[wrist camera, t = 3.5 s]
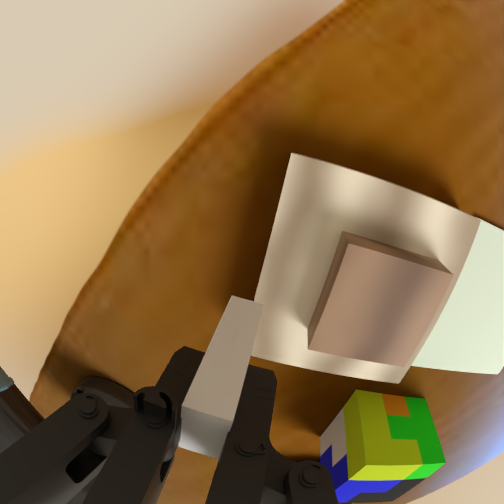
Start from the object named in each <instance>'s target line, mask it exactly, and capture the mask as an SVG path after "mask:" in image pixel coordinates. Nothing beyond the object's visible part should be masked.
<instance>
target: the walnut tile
mask: <svg viewBox="0 0 504 504" xmlns="http://www.w3.org/2000/svg"><path fill="white" fill-rule="evenodd" d="M453 276H454V275H453V274H452V273H451V272H450V271H449V270H448V269H447V268H446V267H445V266H444V265H443V264H442V263H441V262H440V261H438V260H435V259H432V258H429V257H426V256H423V255H420V254H417V253H414V252H410V251H407V250H404V249H401V248H398V247H395V246H391V245H388V244H385V243H381V242H378V241H375V240H372V239H368V238H365V237H361V236H358V235H355V234H351V233H348V232H344V231H342V234H341V237H340V240H339V243H338V246H337V249H336V252H335V255H334V258H333V261H332V264H331V267H330V270H329V273H328V275H327V278H326V281H325V284H324V287H323V289H322V292H321V295H320V297H319V300H318V303H317V305H316V308H315V311H314V313H313V316H312V318H311V321H310V324H309V326H308V329H307V337H308V350H313V351H317V352H322V353H327V354H332V355H337V356H342V357H347V358H353V359H358V360H364V361H369V362H375V363H381V364H388V365H394V366H401V367H405V365H406V363H407V362H408V360H409V359H410V357H411V355H412V354H413V352H414V351H415V349H416V347H417V346H418V344H419V342H420V340H421V339H422V337H423V335H424V333H425V332H426V330H427V328H428V326H429V324H430V323H431V321H432V319H433V317H434V315H435V313H436V311H437V309H438V307H439V305H440V303H441V301H442V299H443V297H444V295H445V293H446V291H447V289H448V287H449V285H450V282H451V280H452V278H453Z"/></svg>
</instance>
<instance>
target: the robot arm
mask: <svg viewBox="0 0 504 504" xmlns="http://www.w3.org/2000/svg"><path fill="white" fill-rule="evenodd" d="M263 305H264V304H261V303H258V302H254V301H250V300H247V299H243V298H240V297H236V296H231V298H230V300H229V302H228V304H227V307H226V309H225V311H224V313H223V315H222V318H221V320H220V322H219V324H218V326H217V329H216V331H215V333H214V335H213V338H212V340H211V342H210V344H209V346H208V349H207V351H206V353H204V352H201V351H198V350H195V349H192V348H188V347H185V346H184V347H182V348H181V349H179V350H178V351H176V352H175V353H174V354H173V356H172V358H171V360H170V361H169V364H168V365H167V367H166V368H165V371H164V372H163V373H162V375H161V377H160V379H159V380H158V382H157V384H156V386H151V387H144V388H142V389H139V390H137V391H136V392H135V393H134V394H133V393H132V392H130V391H129V390H127V389H125V388H124V387H122V386H120V385H118V384H116V383H114V382H112V381H109V380H106V379H103V378H100V377H93V376H90V377H85V378H83V379H82V380H81V381H80V382H79V383H78V384H77V386H76V387H75V388H74V390H73V392H72V395H71V399H70V400H69V401H68V402H67V403H66V404H64V405H63V406H62V407H60V408H59V409H58V410H56V411H55V412H54V413H53V414H51V415H50V416H49V417H47V418H46V419H44V417H43V416H42V415H41V414H40V413H39V412H38V411H37V410H36V409H35V408H34V407H33V405H32V404H31V403H30V402H29V401H28V400H27V399H26V397H25V396H24V395H23V394H22V393H21V391H19V389H18V388H17V387H16V385H15V384H14V381H13V379H12V378H10V377H8V375H7V374H6V373H5V372H4V370H3V369H2V368H1V367H0V504H156V502H157V500H158V498H159V495H160V493H161V490H162V488H163V485H164V483H165V480H166V478H167V476H168V473H169V471H170V468H171V466H172V463H173V461H174V455H175V451H176V448H177V446H178V444H179V447H182V448H185V449H188V450H191V451H194V452H197V453H200V454H204V455H207V456H210V457H214V458H217V459H219V461H218V465H217V468H216V471H215V473H214V476H213V479H212V483H211V487H210V490H209V493H208V496H207V500H206V503H205V504H260V503H261V504H338V500H337V496H336V492H335V488H334V485H333V481H332V477H331V474H330V472H329V470H328V469H327V468H326V467H325V466H324V465H323V464H321V463H319V462H317V461H312V460H305V461H300V462H298V463H297V462H295V461H293V460H291V459H289V458H287V457H285V456H283V455H281V454H280V453H278V452H277V451H276V450H275V449H274V448H273V446H272V444H271V442H270V439H269V432H270V426H271V420H272V413H273V406H274V400H275V392H276V386H277V380H276V377H275V374H274V372H273V371H272V370H268V369H264V368H260V367H256V366H252V365H248V364H249V360H250V356H251V352H252V348H253V344H254V341H255V337H256V333H257V329H258V325H259V321H260V317H261V313H262V309H263Z"/></svg>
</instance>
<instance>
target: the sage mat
mask: <svg viewBox="0 0 504 504" xmlns="http://www.w3.org/2000/svg"><path fill="white" fill-rule="evenodd" d="M475 218H477V217H475ZM477 219H479V218H477ZM479 220H481V219H479ZM411 366H418V367H426V368H434V369H442V370H452V371H462V372H473V373H486V374H499V372H500V371H501V369H502V368H503V366H504V231H503V230H501V229H499V228H497V227H495V226H493V225H491V224H489V223H487V222H485V221H483V220H481V222H480V225H479V228H478V230H477V233H476V236H475V239H474V241H473V244H472V247H471V249H470V252H469V254H468V257H467V259H466V262H465V264H464V267H463V269H462V271H461V274H460V276H459V278H458V280H457V282H456V285H455V287H454V289H453V291H452V293H451V295H450V297H449V299H448V301H447V303H446V305H445V307H444V309H443V311H442V313H441V315H440V317H439V319H438V321H437V322H436V324H435V326H434V328H433V330H432V332H431V333H430V335H429V337H428V338H427V340H426V342H425V344H424V345H423V347H422V349H421V350H420V352H419V353H418V355H417V357H416V358H415V360H414V361H413V363H412V365H411Z"/></svg>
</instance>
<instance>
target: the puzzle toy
mask: <svg viewBox="0 0 504 504" xmlns="http://www.w3.org/2000/svg"><path fill="white" fill-rule="evenodd" d="M320 463H321V464H323V465H324V466H325V467H326V468H327V469H328V470H329V472H330V474H331V477H332V481H333V485H334V488H335V492H336V496H337V500H338V502H341V503H366V502H388V501H393V500H395V499H397V498H398V497H400V496H401V495H403V494H404V493H406V492H407V491H409V490H410V489H412V488H413V487H414V486H416V485H417V484H419V483H420V482H421V481H423V480H424V479H426V478H427V477H428V476H430V475H431V474H432V473H433V472H435V471H436V470H437V469H438V468H440V467H441V466H442V465H443V464H445V463H446V462H445V458H444V455H443V451H442V448H441V445H440V441H439V438H438V435H437V432H436V429H435V426H434V423H433V420H432V417H431V414H430V411H429V408H428V405H427V402H426V400H425V399H424V398H414V397H405V396H397V395H390V394H383V393H376V392H369V391H363V390H357V389H356V390H355V392H354V393H353V394H352V396H351V397H350V399H349V400H348V401H347V403H346V404H345V406H344V407H343V408H342V410H341V411H340V412H339V414H338V415H337V416H336V417H335V419H334V420H333V421H332V423H331V424H330V425H329V426H328V428H327V429H326V430H325V431H324V433H323V434H322V435H321V436H320Z"/></svg>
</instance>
